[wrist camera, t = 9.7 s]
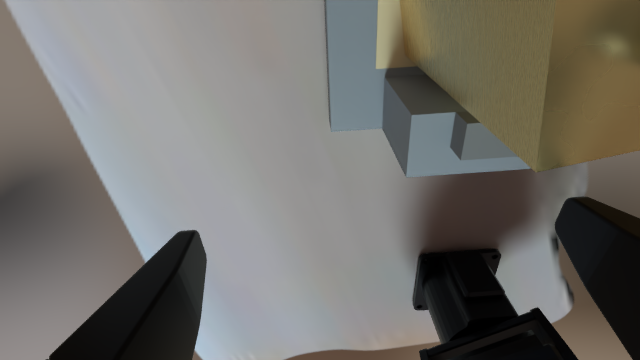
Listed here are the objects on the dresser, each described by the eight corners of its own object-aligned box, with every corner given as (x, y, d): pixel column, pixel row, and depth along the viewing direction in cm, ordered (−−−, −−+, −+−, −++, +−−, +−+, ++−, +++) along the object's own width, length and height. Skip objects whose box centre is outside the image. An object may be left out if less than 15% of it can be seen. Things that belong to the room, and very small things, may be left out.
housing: (501, 30, 18) (869, 157, 6) (404, 54, 18) (583, 214, 7) (507, -90, 15) (1153, -248, 4) (393, -58, 16) (655, -112, 4)
